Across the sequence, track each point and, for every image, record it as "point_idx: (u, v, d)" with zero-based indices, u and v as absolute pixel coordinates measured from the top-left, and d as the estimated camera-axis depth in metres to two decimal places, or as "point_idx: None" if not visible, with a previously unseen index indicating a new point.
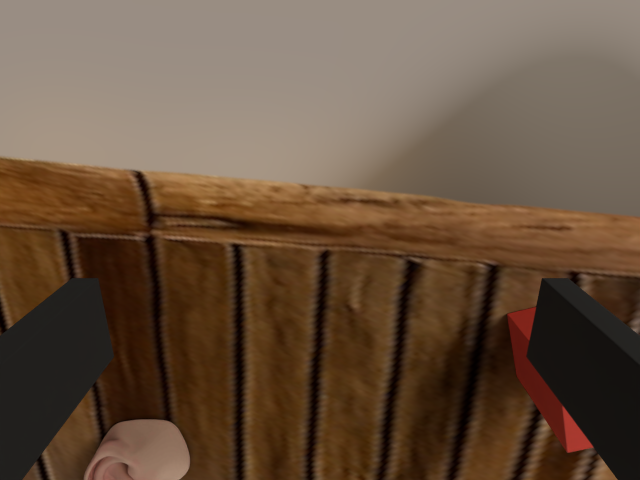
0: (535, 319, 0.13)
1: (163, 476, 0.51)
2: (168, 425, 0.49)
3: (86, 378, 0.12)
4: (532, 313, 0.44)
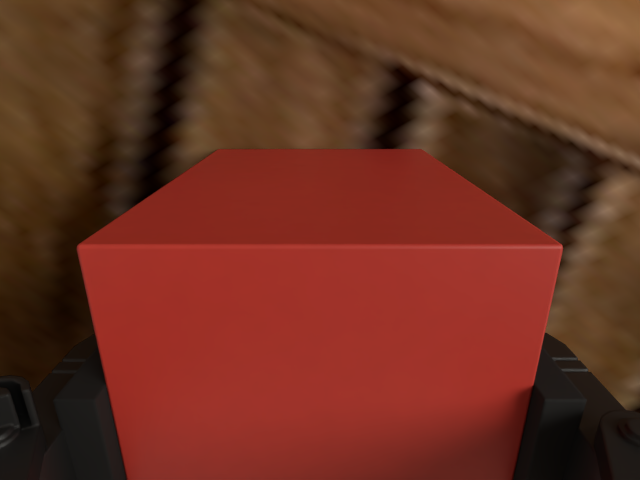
0: None
1: None
2: None
3: None
4: (269, 152, 0.16)
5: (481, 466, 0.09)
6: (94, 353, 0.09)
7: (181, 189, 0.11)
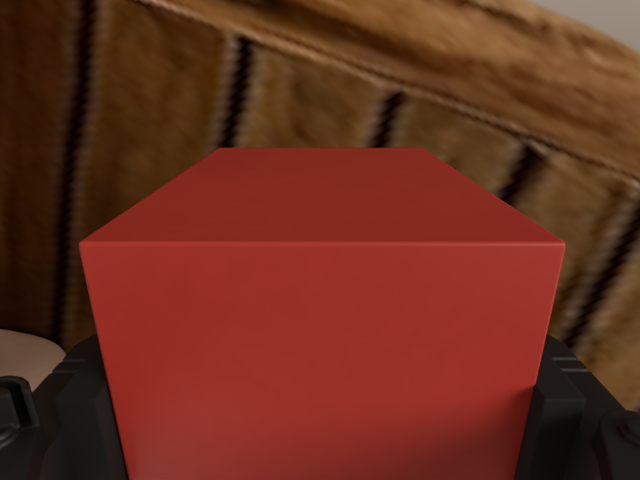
0: None
1: None
2: (52, 349, 0.29)
3: None
4: (270, 151, 0.16)
5: (483, 464, 0.09)
6: (94, 353, 0.09)
7: (182, 187, 0.11)
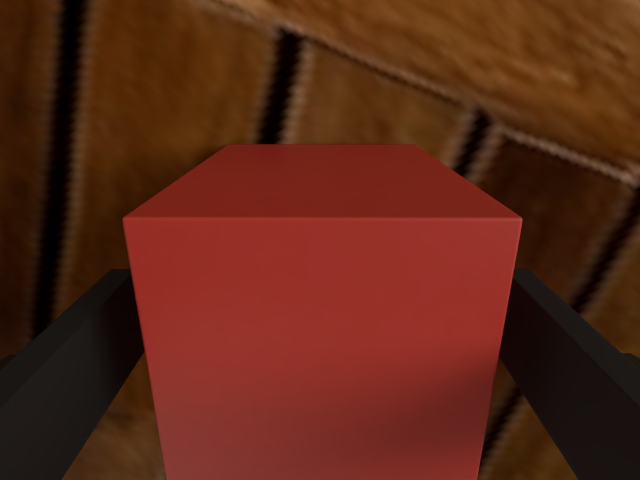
0: None
1: None
2: None
3: (127, 363, 0.12)
4: (275, 147, 0.17)
5: (459, 410, 0.10)
6: None
7: (200, 177, 0.12)
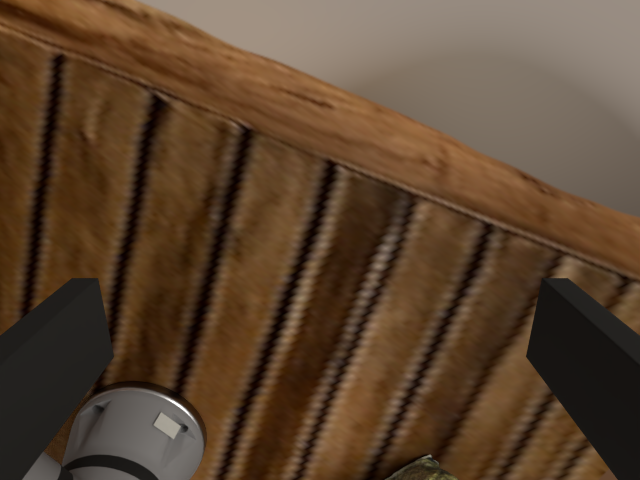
0: (535, 319, 0.13)
1: None
2: None
3: (87, 378, 0.12)
4: None
5: None
6: None
7: None
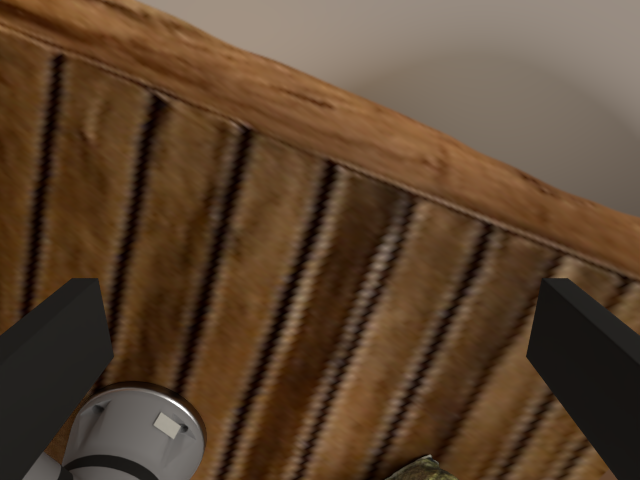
0: (535, 319, 0.13)
1: None
2: None
3: (87, 378, 0.12)
4: None
5: None
6: None
7: None
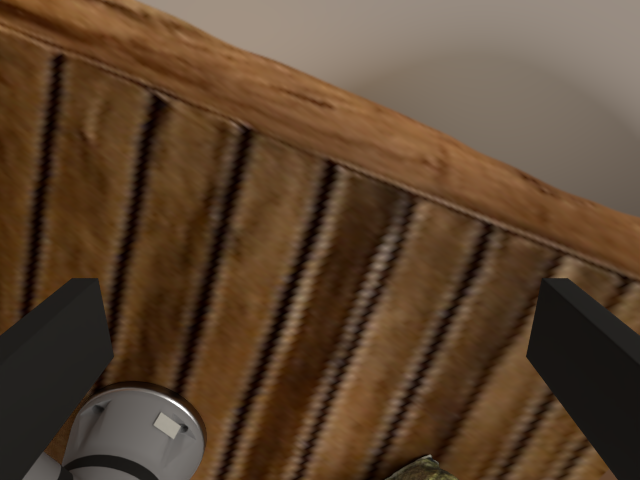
0: (535, 319, 0.13)
1: None
2: None
3: (87, 378, 0.12)
4: None
5: None
6: None
7: None
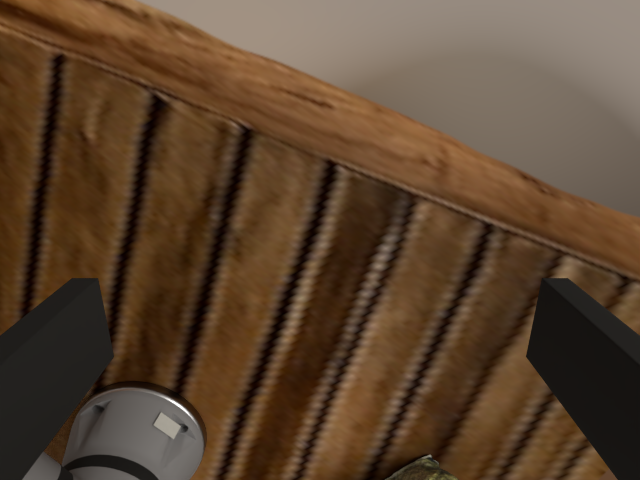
0: (535, 319, 0.13)
1: None
2: None
3: (87, 378, 0.12)
4: None
5: None
6: None
7: None
